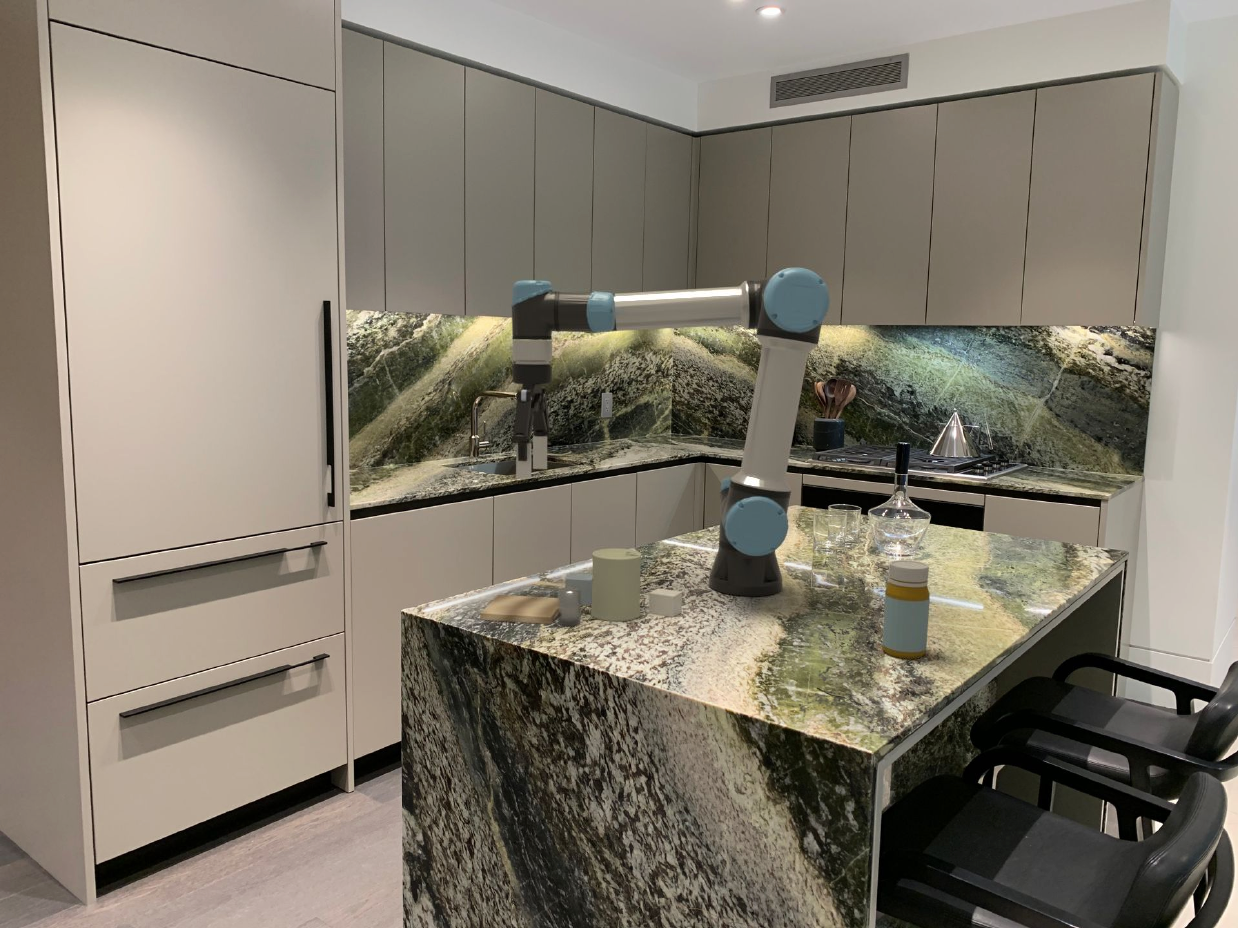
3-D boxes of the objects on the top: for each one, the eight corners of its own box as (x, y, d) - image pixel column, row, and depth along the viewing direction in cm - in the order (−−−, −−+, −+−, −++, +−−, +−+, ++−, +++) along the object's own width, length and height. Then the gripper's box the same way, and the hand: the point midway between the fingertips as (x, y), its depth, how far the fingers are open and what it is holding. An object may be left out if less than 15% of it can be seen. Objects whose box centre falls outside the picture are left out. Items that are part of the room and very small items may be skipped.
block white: (681, 612, 181) (682, 591, 181) (673, 617, 178) (673, 596, 177) (657, 608, 184) (658, 588, 183) (648, 613, 180) (649, 592, 180)
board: (564, 604, 185) (564, 598, 184) (551, 623, 172) (551, 617, 172) (498, 600, 186) (498, 594, 186) (480, 619, 173) (480, 613, 173)
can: (635, 623, 173) (637, 558, 172) (585, 619, 175) (586, 554, 174) (644, 609, 182) (645, 547, 181) (596, 605, 184) (598, 544, 183)
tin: (582, 620, 175) (582, 587, 174) (578, 626, 171) (578, 593, 170) (560, 618, 175) (560, 586, 174) (556, 625, 171) (556, 592, 170)
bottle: (875, 646, 163) (881, 559, 161) (916, 646, 164) (921, 559, 162) (890, 659, 156) (896, 569, 154) (932, 659, 157) (938, 569, 155)
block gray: (594, 598, 189) (594, 574, 189) (590, 605, 184) (591, 580, 184) (569, 597, 190) (569, 572, 189) (564, 604, 185) (565, 578, 184)
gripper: (528, 361, 196) (528, 464, 199) (495, 364, 172) (496, 481, 174) (564, 361, 195) (564, 465, 198) (536, 364, 171) (536, 483, 173)
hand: (532, 473), depth 186 cm, fingers open, 13 cm apart
